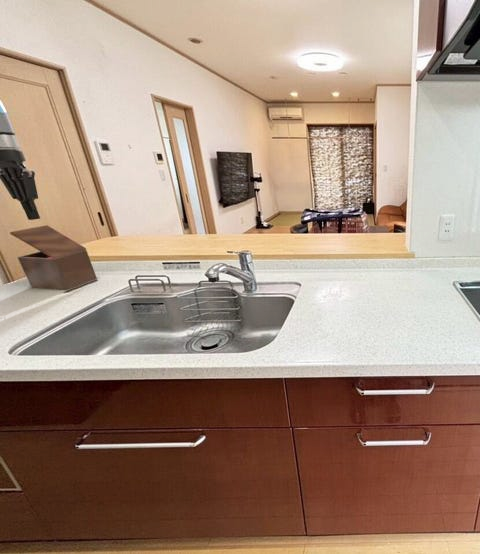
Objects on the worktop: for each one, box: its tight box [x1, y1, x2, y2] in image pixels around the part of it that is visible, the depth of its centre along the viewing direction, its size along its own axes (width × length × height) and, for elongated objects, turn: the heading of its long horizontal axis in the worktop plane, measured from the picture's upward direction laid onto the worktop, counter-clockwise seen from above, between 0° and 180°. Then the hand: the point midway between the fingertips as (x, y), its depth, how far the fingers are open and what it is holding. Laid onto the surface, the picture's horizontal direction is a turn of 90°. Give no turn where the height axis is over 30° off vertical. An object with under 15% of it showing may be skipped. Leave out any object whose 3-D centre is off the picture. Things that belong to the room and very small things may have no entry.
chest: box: [17, 249, 99, 293], centre depth 115 cm, size 16×12×13 cm
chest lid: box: [9, 224, 87, 259], centre depth 111 cm, size 16×12×1 cm
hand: (34, 219), depth 108 cm, fingers closed
